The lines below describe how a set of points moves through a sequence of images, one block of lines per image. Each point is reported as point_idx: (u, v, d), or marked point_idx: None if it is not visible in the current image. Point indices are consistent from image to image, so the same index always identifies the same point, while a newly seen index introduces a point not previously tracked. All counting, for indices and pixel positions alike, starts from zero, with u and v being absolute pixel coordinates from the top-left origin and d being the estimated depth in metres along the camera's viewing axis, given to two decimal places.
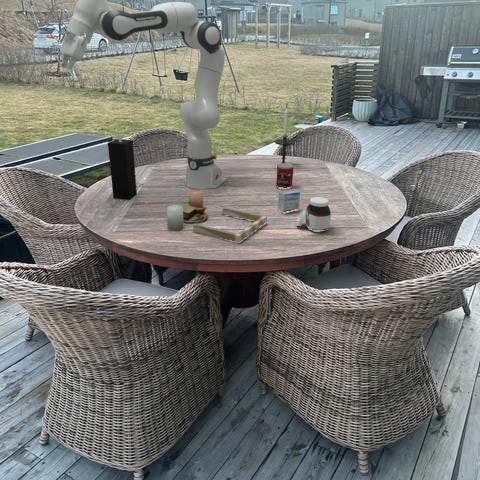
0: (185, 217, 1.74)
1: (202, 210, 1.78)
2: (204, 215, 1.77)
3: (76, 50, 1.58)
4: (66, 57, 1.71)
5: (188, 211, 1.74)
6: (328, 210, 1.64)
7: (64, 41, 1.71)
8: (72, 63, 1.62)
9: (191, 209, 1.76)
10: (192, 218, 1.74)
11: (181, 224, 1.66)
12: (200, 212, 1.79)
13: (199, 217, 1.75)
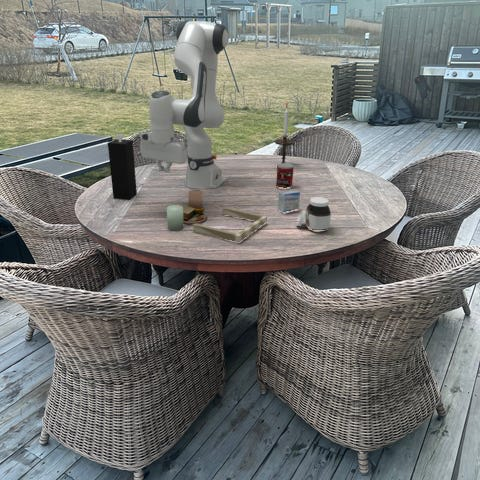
0: (185, 218, 1.73)
1: (201, 211, 1.78)
2: (204, 215, 1.76)
3: (182, 158, 1.68)
4: (160, 160, 1.75)
5: (187, 212, 1.73)
6: (328, 210, 1.64)
7: (143, 146, 1.74)
8: (169, 166, 1.74)
9: (190, 210, 1.76)
10: (192, 219, 1.73)
11: (181, 224, 1.66)
12: (199, 213, 1.78)
13: (199, 218, 1.74)
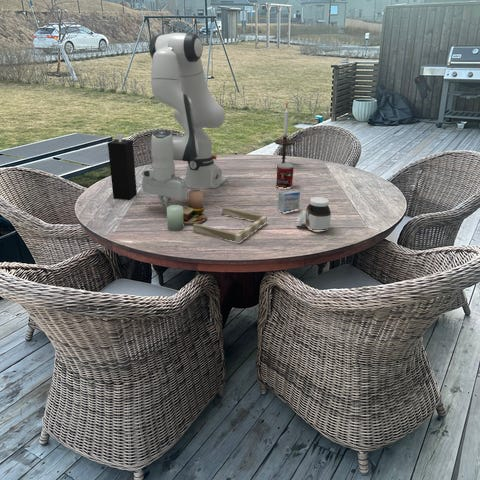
0: (184, 218, 1.73)
1: (201, 211, 1.77)
2: (203, 216, 1.76)
3: (182, 194, 1.73)
4: (162, 196, 1.80)
5: (187, 212, 1.73)
6: (328, 210, 1.64)
7: (145, 182, 1.80)
8: (169, 201, 1.80)
9: (190, 210, 1.75)
10: (191, 219, 1.73)
11: (181, 224, 1.66)
12: (198, 213, 1.78)
13: (198, 218, 1.74)
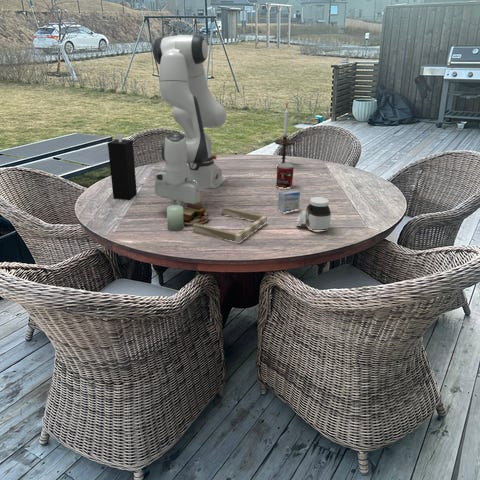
0: (187, 219, 1.71)
1: (202, 212, 1.76)
2: (205, 217, 1.75)
3: (196, 198, 1.71)
4: (175, 200, 1.78)
5: (189, 213, 1.72)
6: (328, 210, 1.64)
7: (157, 185, 1.77)
8: (181, 204, 1.77)
9: (192, 211, 1.74)
10: (194, 220, 1.72)
11: (181, 224, 1.66)
12: (200, 214, 1.77)
13: (201, 219, 1.73)
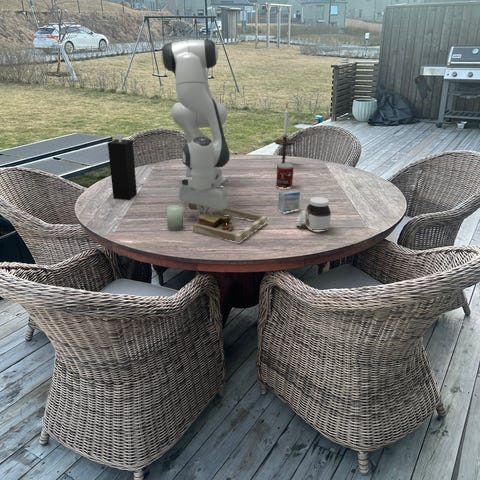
0: None
1: (227, 219, 1.70)
2: (230, 225, 1.68)
3: (223, 204, 1.65)
4: (200, 205, 1.72)
5: (213, 220, 1.65)
6: (328, 210, 1.64)
7: (182, 191, 1.72)
8: (207, 210, 1.72)
9: (216, 218, 1.68)
10: (217, 228, 1.65)
11: (181, 224, 1.66)
12: (225, 221, 1.70)
13: (224, 227, 1.66)
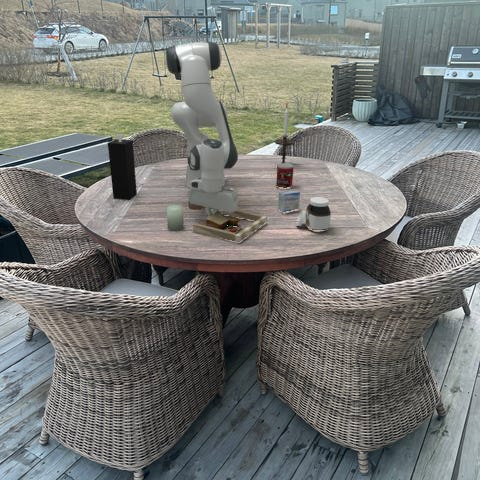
0: None
1: (236, 222, 1.67)
2: (237, 227, 1.65)
3: (233, 207, 1.64)
4: (210, 208, 1.71)
5: (220, 222, 1.64)
6: (328, 210, 1.64)
7: (192, 193, 1.70)
8: (216, 213, 1.71)
9: (224, 220, 1.66)
10: (224, 230, 1.63)
11: (181, 224, 1.66)
12: (234, 224, 1.68)
13: (231, 229, 1.64)
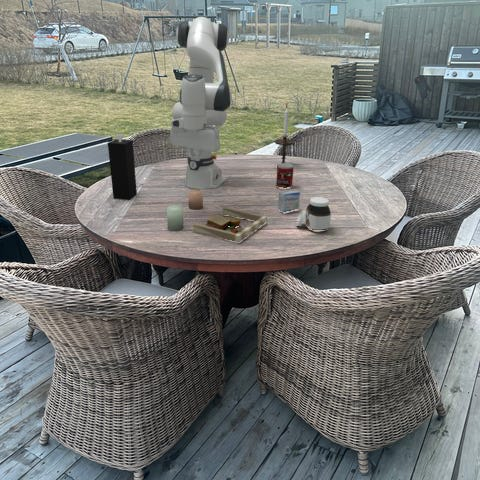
0: None
1: (237, 223, 1.67)
2: (239, 228, 1.65)
3: (216, 145, 1.58)
4: (192, 149, 1.65)
5: (221, 223, 1.64)
6: (328, 210, 1.64)
7: (173, 133, 1.64)
8: (199, 154, 1.65)
9: (225, 221, 1.66)
10: None
11: (181, 224, 1.66)
12: (235, 225, 1.68)
13: (233, 230, 1.63)
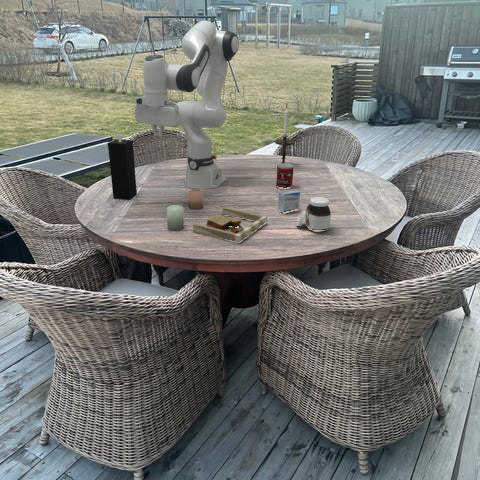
0: None
1: (237, 223, 1.67)
2: (239, 228, 1.65)
3: (176, 121, 1.70)
4: (155, 125, 1.77)
5: (222, 223, 1.64)
6: (328, 210, 1.64)
7: (137, 111, 1.77)
8: (162, 130, 1.77)
9: (226, 221, 1.66)
10: None
11: (181, 224, 1.66)
12: (235, 225, 1.68)
13: (233, 230, 1.63)
